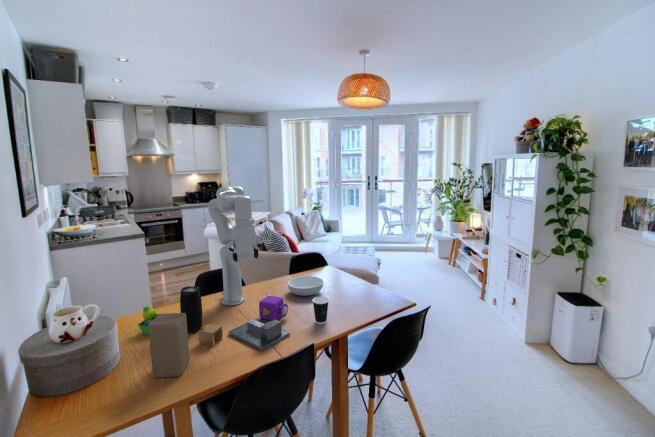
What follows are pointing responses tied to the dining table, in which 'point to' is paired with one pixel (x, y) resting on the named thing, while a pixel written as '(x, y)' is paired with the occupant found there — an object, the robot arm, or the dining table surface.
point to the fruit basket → (147, 319)
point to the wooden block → (169, 344)
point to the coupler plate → (255, 337)
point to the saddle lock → (210, 334)
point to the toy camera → (272, 308)
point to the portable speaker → (191, 307)
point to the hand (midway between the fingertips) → (245, 259)
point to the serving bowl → (305, 285)
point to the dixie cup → (320, 309)
